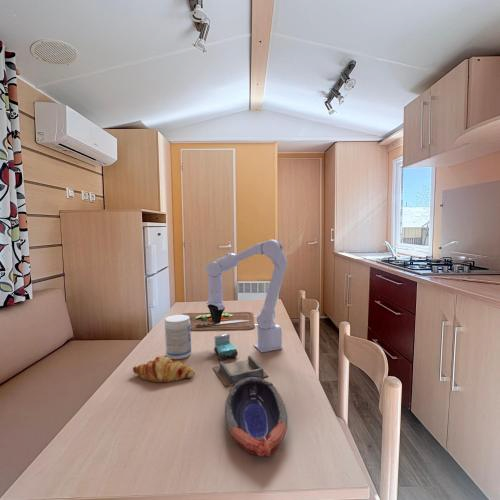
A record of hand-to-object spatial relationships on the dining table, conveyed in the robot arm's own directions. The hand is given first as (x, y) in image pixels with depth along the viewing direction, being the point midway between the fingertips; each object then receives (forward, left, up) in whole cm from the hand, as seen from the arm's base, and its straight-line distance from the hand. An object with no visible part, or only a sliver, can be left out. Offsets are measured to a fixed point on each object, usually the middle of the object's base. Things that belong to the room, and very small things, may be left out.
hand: (216, 322), depth 128 cm
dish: (+6, +53, -10) cm, 54 cm away
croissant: (+24, +19, -10) cm, 32 cm away
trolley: (0, +12, -9) cm, 15 cm away
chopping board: (-8, -29, -10) cm, 32 cm away
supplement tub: (+16, +4, -10) cm, 20 cm away
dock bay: (0, +27, -9) cm, 28 cm away
